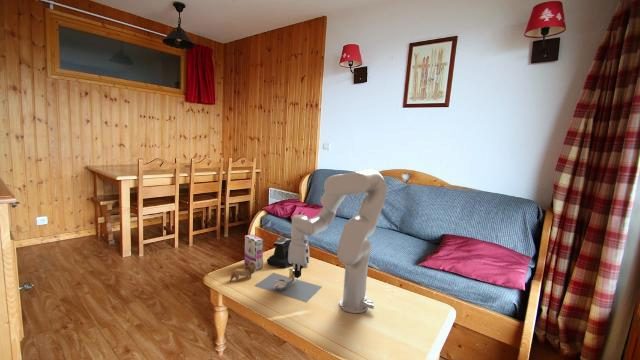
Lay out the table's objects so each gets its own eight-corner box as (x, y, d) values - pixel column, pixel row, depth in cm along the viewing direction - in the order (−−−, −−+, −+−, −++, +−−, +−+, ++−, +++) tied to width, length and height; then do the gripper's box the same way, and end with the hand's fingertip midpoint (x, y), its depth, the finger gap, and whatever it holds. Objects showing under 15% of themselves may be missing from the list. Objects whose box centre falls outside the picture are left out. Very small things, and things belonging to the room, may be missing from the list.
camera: (281, 233, 187) (303, 236, 180) (282, 256, 189) (304, 260, 182) (265, 241, 173) (289, 244, 166) (267, 266, 175) (290, 270, 168)
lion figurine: (253, 275, 162) (253, 258, 160) (258, 279, 158) (258, 262, 156) (226, 283, 152) (226, 265, 150) (231, 287, 148) (231, 269, 147)
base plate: (322, 289, 151) (322, 286, 151) (306, 304, 137) (306, 302, 136) (273, 274, 163) (273, 272, 163) (254, 288, 149) (254, 285, 148)
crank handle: (279, 295, 141) (280, 284, 140) (268, 291, 144) (268, 280, 143) (298, 280, 155) (299, 270, 154) (287, 276, 158) (288, 267, 157)
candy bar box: (263, 268, 170) (263, 239, 167) (255, 271, 166) (255, 241, 164) (251, 261, 177) (252, 233, 175) (243, 263, 174) (244, 235, 171)
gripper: (316, 242, 150) (314, 278, 153) (290, 235, 157) (289, 270, 160) (307, 246, 143) (306, 284, 146) (281, 239, 151) (280, 275, 154)
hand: (297, 276), depth 153 cm, fingers closed
